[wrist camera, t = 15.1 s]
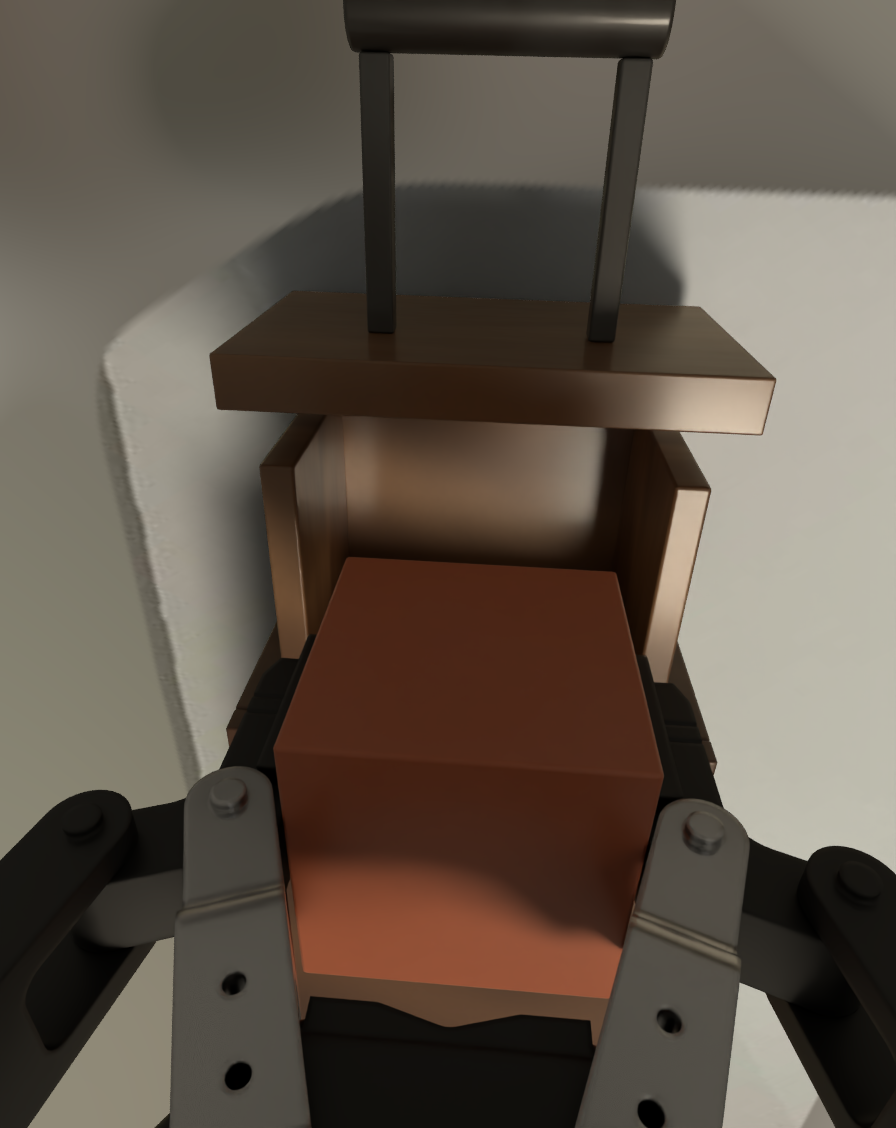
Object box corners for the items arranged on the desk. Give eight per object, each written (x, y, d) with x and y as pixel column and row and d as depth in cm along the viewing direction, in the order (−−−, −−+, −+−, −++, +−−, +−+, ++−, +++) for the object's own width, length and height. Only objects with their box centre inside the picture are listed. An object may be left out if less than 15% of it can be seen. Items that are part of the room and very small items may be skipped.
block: (345, 554, 14) (271, 748, 9) (617, 570, 14) (666, 776, 9) (356, 751, 16) (301, 974, 12) (585, 767, 16) (612, 1001, 12)
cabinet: (303, 560, 27) (224, 728, 19) (659, 581, 26) (718, 762, 19) (328, 835, 34) (277, 1031, 27) (604, 855, 33) (631, 1063, 26)
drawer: (268, -7, 18) (147, -74, 12) (758, 2, 17) (889, -64, 11) (322, 666, 28) (272, 810, 22) (628, 686, 27) (660, 839, 21)
